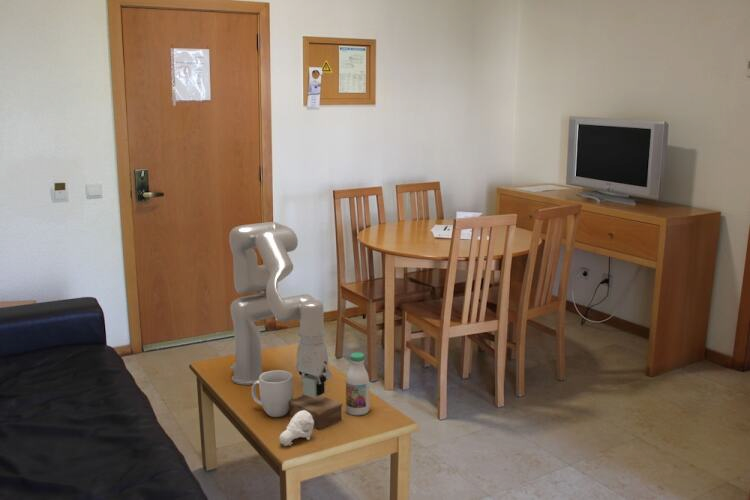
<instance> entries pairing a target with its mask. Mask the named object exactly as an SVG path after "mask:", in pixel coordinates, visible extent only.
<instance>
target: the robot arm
mask: <svg viewBox="0 0 750 500" xmlns="http://www.w3.org/2000/svg"><path fill="white" fill-rule="evenodd" d="M228 241H229V243H228V244H229V247H230V251H231V253H232V254H231V255H232V260H233V261H232V262H233V263H232V264H233V268H232V269H233V284H234V289H235V291H236V292H237V294H240V295H246V296H241V297H237V298H236V299H234V300H233V301H232V302H231V303H230V309H229V310H230V315H231V316H230V317H231V319H232V325H233V335H234V337H233V338H234V353H235V355H234V356H235V362H233V363H232V365H231V366H230V370H231V371H234V374H233V375H232V376H231V377H232V378H231V379H232V382H233V383H235V384H238V385H242V386H250V385H251V386H253V384H254V383H255V382H256V381H258V380H259V377H260V375H261V374H263V373H265V372H266V371H263V364H262V363H263V362H262V361H263V360H262V340H261V339H262V337H261V335H262V334H261V331H260V329H259V328H258V326H257V325H255V322H258V321H261V320H265V319H266V320H267V319H271V318H273V317H274V318H275V319H276V320H277V321H278V322H282V323H286V322H290V321H295V320H299V329H300V330H299V331H300V332H299V333H298V336H299V337H300V340H299V341H298V345H297V350H296V351H297V352H296V364H295V365H294V368H295V369H296V370H297V372H298V373H299V375H300V378H301V380H302V381H303V376H306V375H308V374H309V375H313V376H316V377H317V382H318V384H317V396H319V395H321V394H322V395H323V393H324V382H325V383H326V381H327V380H328V379H330V378H331V377H332V376H333V374H332V372H331V369H330V368H329V356H328V349H327V344H326V343H325V326H324V325H325V323H324V322H325V321H324V320H325V319H324V318H325V317H324V315H325V314H324V304H323V302H322V301H321V300H318V299H315V298H314V297H313V296H312V295H310V294H309V293H307V294H305V293H303V294H298V295H292V296H286V297H283V298H282V296H281V294H280V293H279V288H278V287H279V286H278V285H279V284H278V283H280V282H281V281H282V280H284V279H285V278H286V277H288V276H289V275H290V274H291V273H292V272H293V270H294V264H293V262H292V259H291V257H290V255H289V252H294V251H295V250H297V248H298V243H299V242H298V236H297V234H296V233H295V231H294V230H293V229H292V228H290V227H288V226H286V225H283V224H281V223H278V222H274V221H266V222H260V223H259V222H258V223H249V224H242V225H238V226H235V227H233V228H232V229H231V230H230V232H229V237H228ZM255 249H257V251H258V253H259V255H260V257H261V259H262V262H263V264H261V265H258V256H257V255H258V254H257V253H256V251H255ZM259 292H261V293H259ZM254 293H258V294H254ZM248 294H250V295H248ZM320 376H321V378H320ZM324 394H325V393H324Z"/></svg>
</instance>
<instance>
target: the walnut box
mask: <svg viewBox="0 0 750 500" xmlns="http://www.w3.org/2000/svg"><path fill="white" fill-rule="evenodd" d="M289 404H290V409H289V418H290V419H292V417H293V416H294V415H295V414H296V413H298V412H299V411H302V410H306V411H307V412H309V413H310V414H311V415H312V418H313V420H314V426H313V429H314V430H317V431H322V430H323V429H325V428H328V427H330V426H331V425H335V424H337V423H338V422H340V421H342V420H343V419H342V407H343V403H341V402H338V401H336V400H334V399H331V398H329V397H326V396H324V395H323V394H322V395H320V396H318V397H316V398H313V397H310V396H307V395H301V396H298V397H295V398H293V399H292V400H290V401H289Z"/></svg>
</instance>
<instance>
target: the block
mask: <svg viewBox="0 0 750 500" xmlns="http://www.w3.org/2000/svg"><path fill="white" fill-rule="evenodd" d="M320 378H321V376H320ZM317 384H318V382H317V377H316V376H313V375H309V374H308V375H306V376H303V380H302V394H303V395H307V396H310V397H313V398H316V397H318V396H317ZM325 384H326V382H324V393H323V394H324V395H325V393H326V388H325V386H326V385H325ZM323 394H321V395H322V396H323ZM303 395H302V396H303ZM319 396H320V395H319Z"/></svg>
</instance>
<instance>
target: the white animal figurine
mask: <svg viewBox="0 0 750 500" xmlns="http://www.w3.org/2000/svg"><path fill="white" fill-rule="evenodd" d="M313 426H314V420H313V418H312V415H311V414H310V413H309V412H307V411H306V410H302V411H299V412H298V413H296V414H295V415H294V416H293V417H292V418H290V421H289V423H288V424H287V426H286V430H283V431H282V432H281V433H280V434H279V437H278V438H279V442H280V443H281V444H282V445H283V447H287V446H292V445H293V444H294V443H293V442H292V441H293V440H295V439H298V438H305V439H306V441H310V439H311V435H312V432H313V429H314V428H313Z"/></svg>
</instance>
